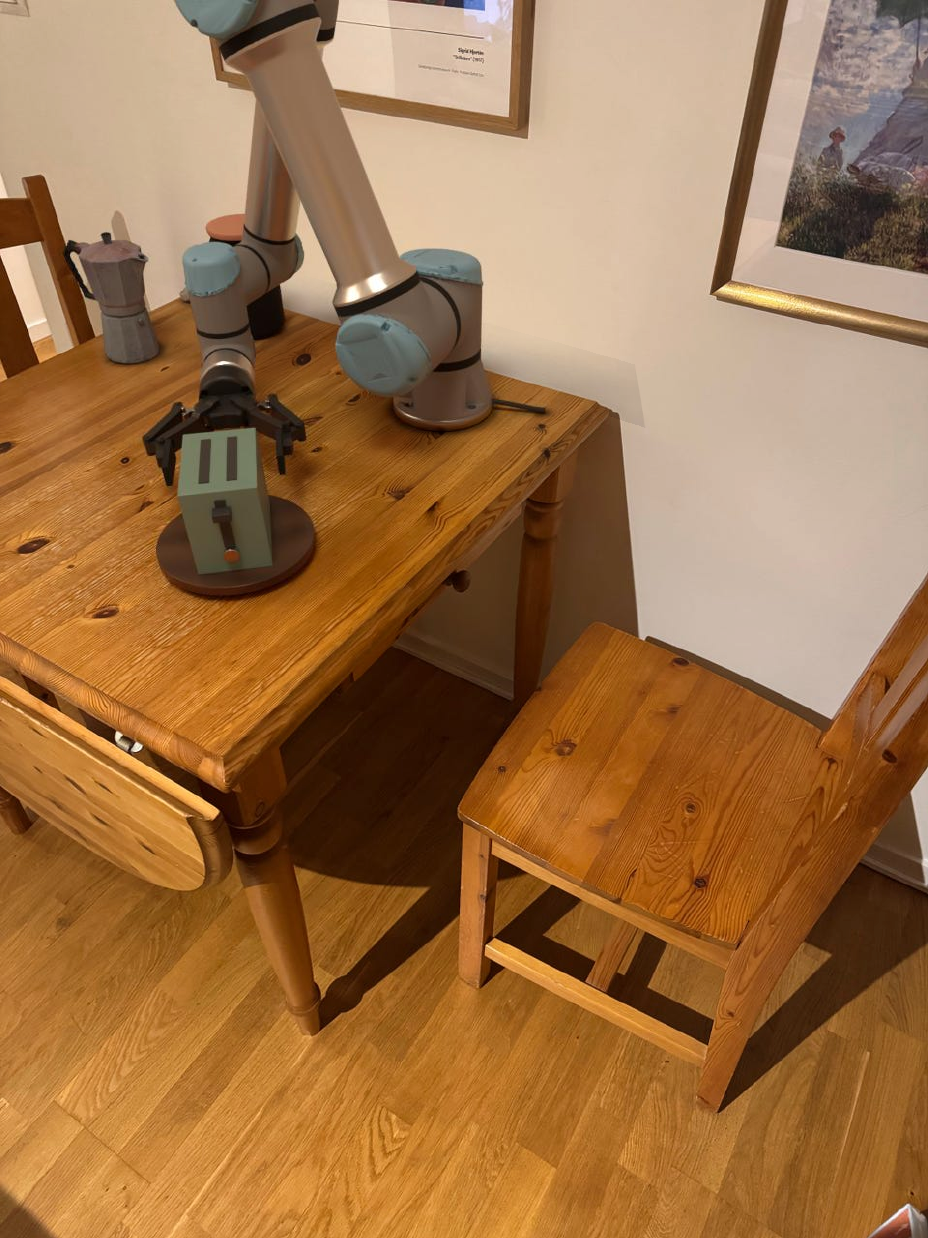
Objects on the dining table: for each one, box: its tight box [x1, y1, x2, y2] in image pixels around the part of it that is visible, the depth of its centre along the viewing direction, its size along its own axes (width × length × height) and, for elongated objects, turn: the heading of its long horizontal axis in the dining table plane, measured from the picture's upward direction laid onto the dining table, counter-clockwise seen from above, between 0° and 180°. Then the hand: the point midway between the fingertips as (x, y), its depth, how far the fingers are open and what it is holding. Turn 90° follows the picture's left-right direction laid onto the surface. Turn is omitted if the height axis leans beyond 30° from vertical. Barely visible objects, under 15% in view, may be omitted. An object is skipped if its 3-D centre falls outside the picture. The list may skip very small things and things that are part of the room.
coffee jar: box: [205, 213, 286, 341], centre depth 148 cm, size 11×11×18 cm
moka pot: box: [62, 231, 161, 364], centre depth 141 cm, size 10×15×20 cm, turn 78°
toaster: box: [155, 428, 316, 596], centre depth 102 cm, size 19×19×12 cm
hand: (224, 471), depth 105 cm, fingers open, 13 cm apart
